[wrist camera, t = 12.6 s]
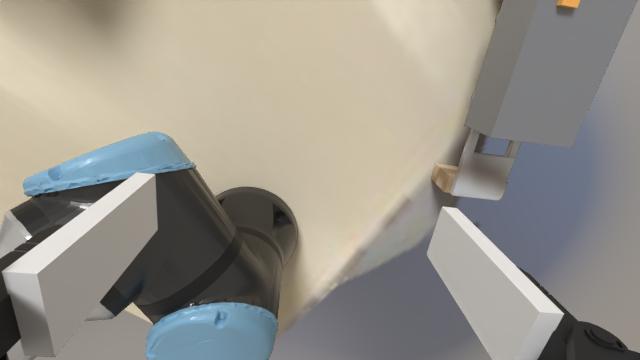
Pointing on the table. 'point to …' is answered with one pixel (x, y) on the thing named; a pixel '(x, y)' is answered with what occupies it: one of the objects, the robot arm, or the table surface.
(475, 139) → the keyhole board
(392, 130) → the table surface
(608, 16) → the grey box orange tab
